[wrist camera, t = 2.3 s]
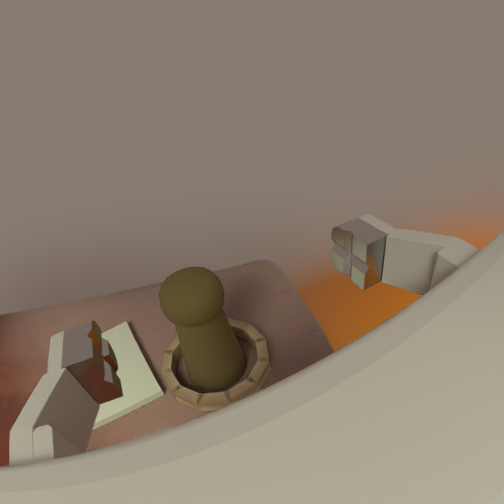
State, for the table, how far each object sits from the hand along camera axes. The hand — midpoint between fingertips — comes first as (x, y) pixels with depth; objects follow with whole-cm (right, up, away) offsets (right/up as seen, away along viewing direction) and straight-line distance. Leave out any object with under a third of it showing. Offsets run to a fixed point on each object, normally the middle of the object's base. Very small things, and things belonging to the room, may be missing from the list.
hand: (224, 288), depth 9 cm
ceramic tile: (-16, -13, +19) cm, 28 cm away
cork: (-3, -10, +20) cm, 22 cm away
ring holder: (-3, -10, +20) cm, 22 cm away
